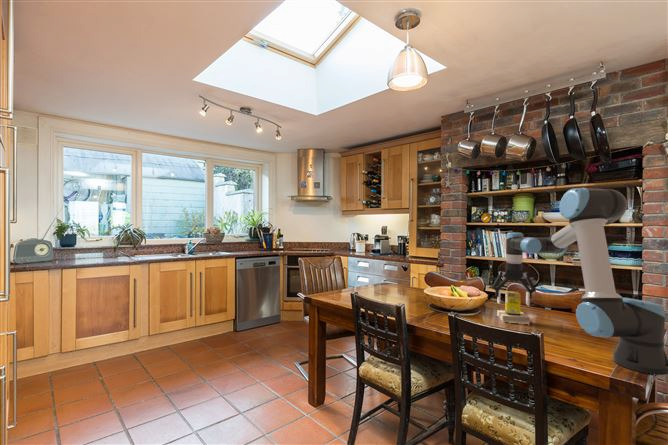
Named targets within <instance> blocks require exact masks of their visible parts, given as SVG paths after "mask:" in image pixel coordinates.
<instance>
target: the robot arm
mask: <svg viewBox="0 0 668 445" xmlns="http://www.w3.org/2000/svg"><path fill="white" fill-rule="evenodd" d="M558 210H559V213H560V215H561V216H562V217H563V218H564V219H566V220H568V224H567V225H566V226H564V227H563V228H561V229H560V230H558V231H557V232H555V233H554V234H553V235H550V236H549V237H529V236H527V237H525V236H524V234H523V233H522V232H507V233H506V240H505V254H506V255H505V262H506V263H505V271H501V270H500V271H498V275H497V277H496V279H495V281H494V282H493V284H492V286H491V289H492V290H494V291H495V293H494V295H495V297H497V298H496V302H497V304H498V305H500V304H501V293H502V292H501V289H502V288H503V287H504V286H505V285H506V284H507V283H508V282H509V281H510V282H519V283H520V284H521V285H522V286H523V287H524V289H526V291H525V305H526V306H530V300H532V298H533V297H532V293H534V292H535V293H536V291H537V290H536V287H535V286H534V284H533V282H532V280H531V278H530V273H529V272H523V255H524V254H523V253H525V254H529V255H530V254H531V255H535V254H554V255H555V254H556V255H558V254H564V253H566V252H567V250H568V248H569V247H568V246H569V245H572V244H573V243H575V242H577V249H578V253H579V255H578V256H579V259H580V265H581V266H580V267H581V273H582V278H583V279H582V280H583V285H584V291H585V293H584V294H583V295H582V296H581V303H579V304H578V305H577V308H576V309H575V316H576V320H577V322H578V324H579V326H580V327H581V329H583V330H584V331H585V333H587V334H589V335H590V336H594V337H598V338H599V337H600V338H601V337H602V338H606V339H607V338H619V341H618V343H617V345H616V347H615V349H614V351H613V354H612V361H613V362H614V363H616V364H617V365H619V366H621V367H624V368H626V369H629V370H632V371H635V372H640V373H644V374H648V373H649V374H650V375H658V376H659V375H660V376H666V375H668V356H667V353H666V350H665V330H666V329H665V326H666V323H665V322H666V316H665V315H666V313H665V312H666V311H665V308H664V307H663V305H661V304H658V303H655V302H651V301H648V300H647V301H646V300H641V299H636V298H630V297H623V296H621V295H620V294H619V293H617V291H616V287H615V286H616V285H615V281H614V276H613V271H612V269H613V268H612V265H611V259H610V254H609V249H608V242H607V239H606V233H605V226H608V225H611V224H613V223H614V222H616V221H619V219H621V218H622V217H623V216H624V214H625V213H626V212H627V210H628V201H627V198H626V197H625V195H624V194H622V193H621V191H618V190H616V189H611V188H592V187H590V188H589V187H579V188H578V187H577V188H571V189H568V190H567V191H566V192H565V193H564V194H563V196H562V197H561V200H560V201H559V209H558ZM504 275H505V277H504V279H502V277H503V276H504ZM523 277H524V278H525V279H526V281H527V283H528V285H529V286H528V285H527V283H526V281H524V280H523V279H522V278H523ZM501 279H502V281H501Z"/></svg>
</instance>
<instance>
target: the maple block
mask: <svg viewBox="0 0 668 445" xmlns="http://www.w3.org/2000/svg"><path fill="white" fill-rule="evenodd" d="M497 316H498V317H499V318H500V319H501V320H502V321H503V322H509V323H508V324H511V323H518V324H517V325H524V324H528V325H527V326H530V321H531V320H530V319H531V318H530V317H529V316H528V315H527V314H526V313H524V312H523V311H520V315H508V314H507V313H506V312H505V309H504V310H502V309H496V317H497ZM498 317H497V318H498ZM499 318H498V319H499ZM500 319H499V320H500ZM501 320H500V321H501ZM502 321H501V322H502ZM503 322H502V323H503Z"/></svg>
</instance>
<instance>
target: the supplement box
mask: <svg viewBox="0 0 668 445" xmlns="http://www.w3.org/2000/svg"><path fill="white" fill-rule="evenodd" d="M504 294H505V298H504V299H505V300H504V301H505V302H504V303H505V304H504V306H505V307H504V311H505V312H506V313H507V314H508V315H520V312H521V304H522V302H521V301H522V299H521V297H522V294H521V293H519V291H509V290H505V293H504Z"/></svg>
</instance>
